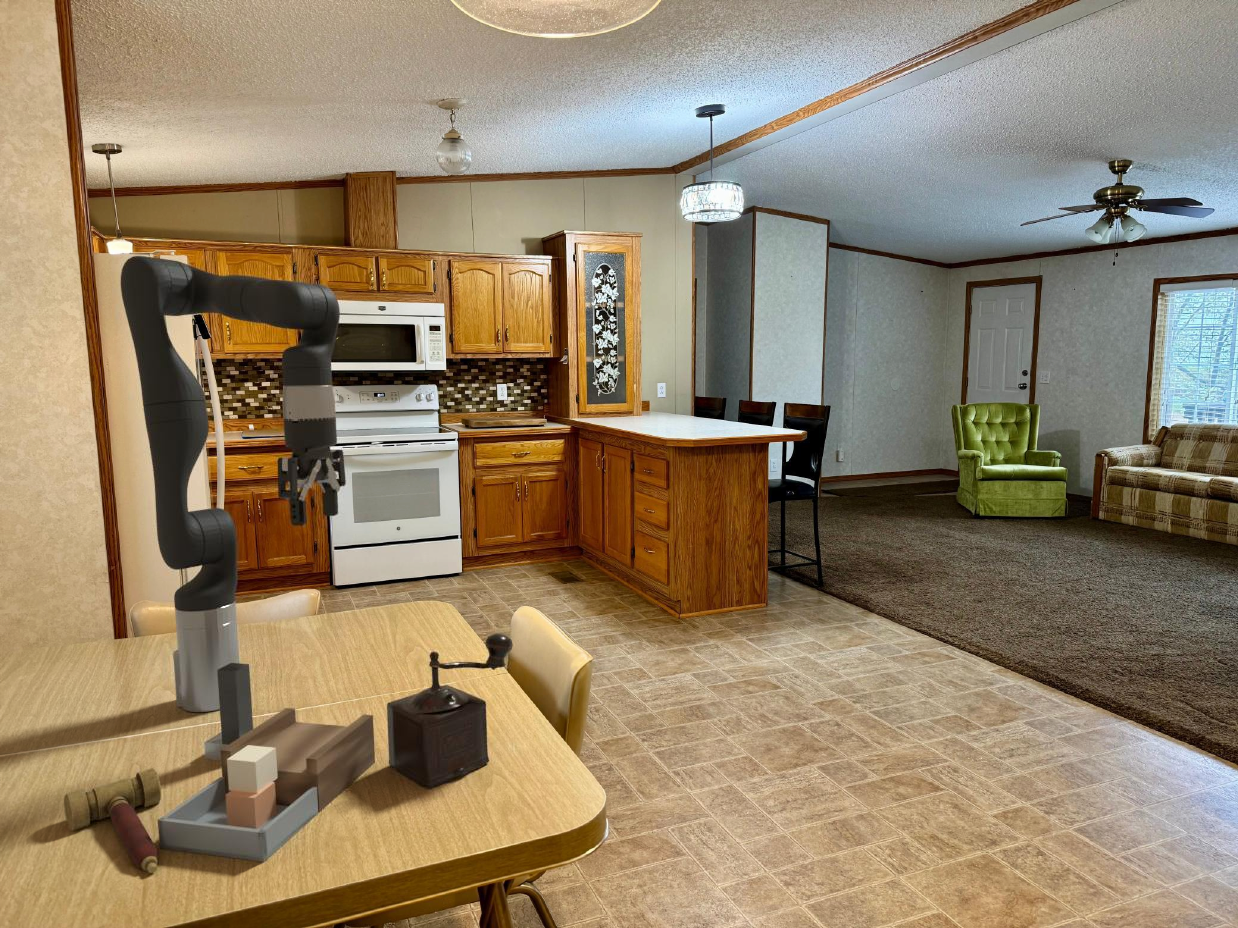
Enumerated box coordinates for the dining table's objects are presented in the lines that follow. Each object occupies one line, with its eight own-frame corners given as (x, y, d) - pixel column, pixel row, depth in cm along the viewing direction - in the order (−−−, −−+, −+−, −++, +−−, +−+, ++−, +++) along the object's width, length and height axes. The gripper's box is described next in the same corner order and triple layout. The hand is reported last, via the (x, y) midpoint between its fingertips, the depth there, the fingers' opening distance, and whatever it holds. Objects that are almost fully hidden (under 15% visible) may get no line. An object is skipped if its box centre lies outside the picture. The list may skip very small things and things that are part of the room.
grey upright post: (205, 758, 122) (199, 669, 120) (222, 747, 125) (216, 660, 124) (256, 764, 120) (250, 673, 118) (272, 752, 123) (267, 664, 122)
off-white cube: (228, 790, 103) (226, 759, 102) (250, 774, 107) (248, 744, 106) (257, 793, 102) (255, 762, 101) (277, 777, 106) (275, 747, 105)
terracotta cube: (248, 809, 106) (227, 825, 102) (246, 779, 105) (225, 794, 102) (276, 812, 105) (256, 829, 101) (274, 782, 105) (254, 797, 101)
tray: (159, 847, 98) (157, 819, 98) (222, 802, 109) (220, 776, 108) (264, 861, 95) (262, 832, 95) (318, 813, 106) (316, 786, 105)
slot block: (223, 801, 109) (220, 749, 108) (288, 753, 123) (285, 707, 122) (319, 811, 106) (316, 759, 105) (375, 761, 119) (372, 715, 119)
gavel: (200, 833, 96) (100, 869, 89) (202, 869, 97) (103, 908, 90) (151, 762, 111) (62, 788, 104) (153, 793, 112) (65, 821, 105)
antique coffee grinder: (429, 792, 111) (424, 661, 109) (386, 765, 118) (381, 642, 116) (521, 753, 122) (518, 633, 120) (476, 731, 129) (472, 618, 127)
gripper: (314, 413, 135) (320, 512, 136) (258, 418, 121) (264, 528, 123) (356, 413, 133) (361, 513, 135) (304, 417, 119) (310, 529, 121)
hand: (315, 520), depth 129 cm, fingers open, 8 cm apart
